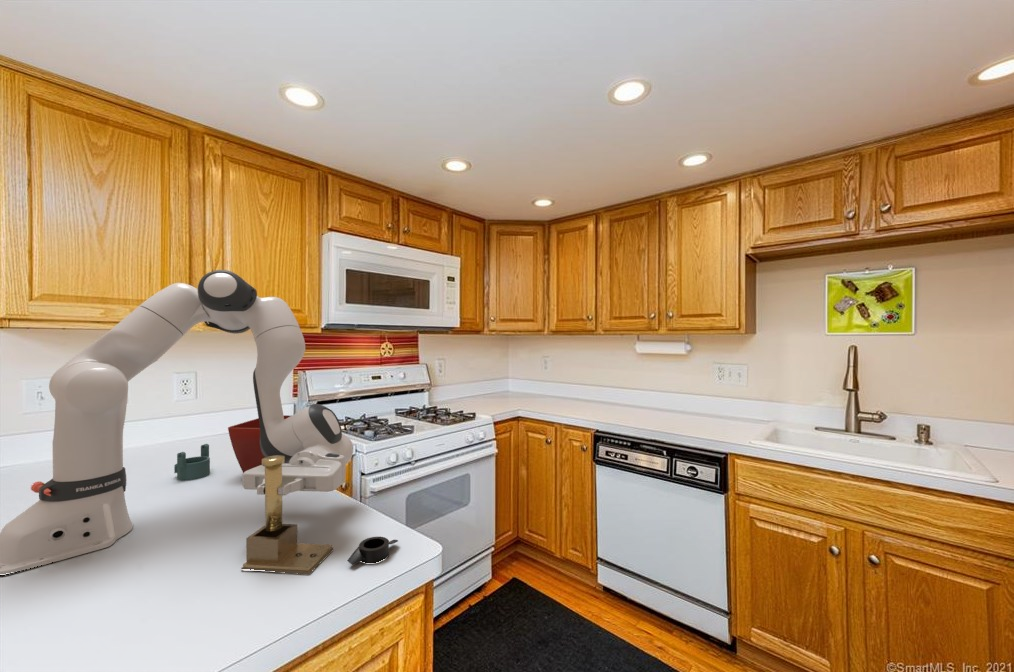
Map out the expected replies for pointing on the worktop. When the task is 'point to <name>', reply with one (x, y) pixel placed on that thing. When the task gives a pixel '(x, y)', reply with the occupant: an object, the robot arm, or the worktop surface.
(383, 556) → the black ring with tabs
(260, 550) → the brass socket plate
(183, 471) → the bracket
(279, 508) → the hinge pin
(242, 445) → the plant pot
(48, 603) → the worktop surface
